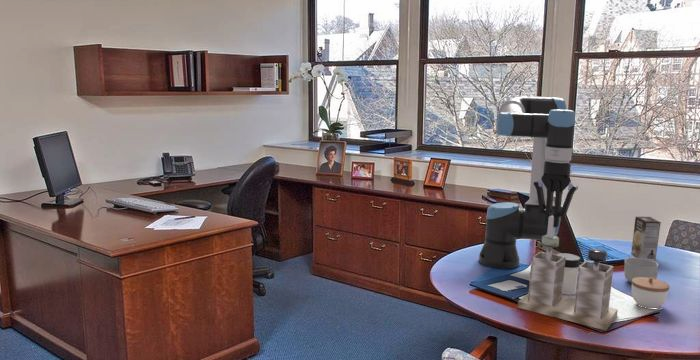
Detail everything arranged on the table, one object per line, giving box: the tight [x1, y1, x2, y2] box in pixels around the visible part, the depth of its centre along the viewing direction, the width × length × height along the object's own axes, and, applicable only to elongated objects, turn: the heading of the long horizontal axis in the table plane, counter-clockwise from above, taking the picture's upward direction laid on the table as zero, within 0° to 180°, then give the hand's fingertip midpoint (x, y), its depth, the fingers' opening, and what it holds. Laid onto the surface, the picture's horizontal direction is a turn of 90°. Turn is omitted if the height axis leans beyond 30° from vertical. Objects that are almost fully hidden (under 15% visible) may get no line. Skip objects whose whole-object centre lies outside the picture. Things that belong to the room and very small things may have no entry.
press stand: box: [517, 251, 619, 331], centre depth 178 cm, size 26×14×16 cm, turn 54°
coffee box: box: [631, 216, 662, 261], centre depth 236 cm, size 9×6×16 cm
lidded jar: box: [631, 277, 670, 309], centre depth 185 cm, size 11×11×9 cm
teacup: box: [623, 255, 660, 284], centre depth 208 cm, size 14×11×8 cm
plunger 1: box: [541, 235, 560, 261], centre depth 181 cm, size 6×6×17 cm
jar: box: [555, 252, 581, 296], centre depth 196 cm, size 9×8×12 cm
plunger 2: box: [587, 248, 608, 271], centre depth 173 cm, size 6×6×17 cm
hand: (550, 236), depth 179 cm, fingers closed
